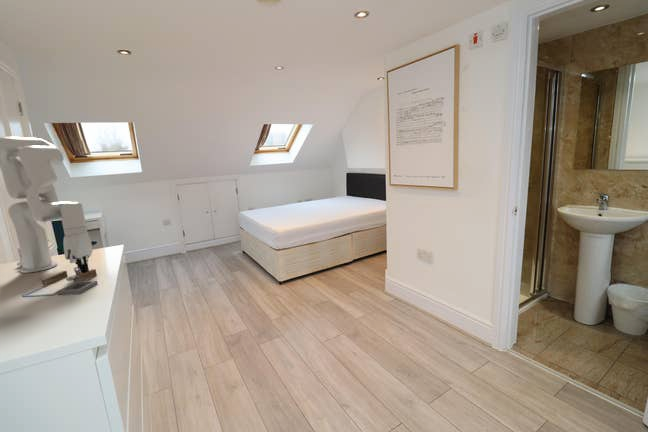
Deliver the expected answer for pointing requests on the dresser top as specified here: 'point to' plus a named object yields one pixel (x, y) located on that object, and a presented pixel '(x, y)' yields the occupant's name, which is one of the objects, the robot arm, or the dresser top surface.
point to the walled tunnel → (64, 274)
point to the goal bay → (37, 295)
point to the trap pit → (77, 287)
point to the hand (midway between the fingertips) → (84, 272)
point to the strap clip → (78, 272)
